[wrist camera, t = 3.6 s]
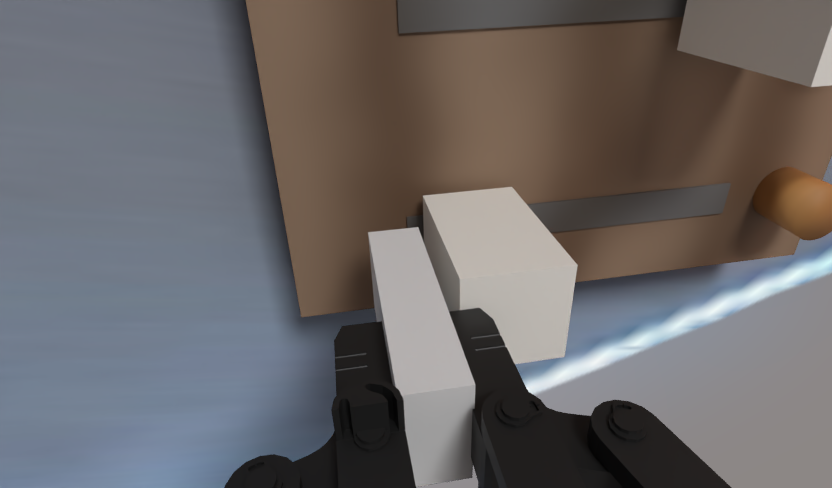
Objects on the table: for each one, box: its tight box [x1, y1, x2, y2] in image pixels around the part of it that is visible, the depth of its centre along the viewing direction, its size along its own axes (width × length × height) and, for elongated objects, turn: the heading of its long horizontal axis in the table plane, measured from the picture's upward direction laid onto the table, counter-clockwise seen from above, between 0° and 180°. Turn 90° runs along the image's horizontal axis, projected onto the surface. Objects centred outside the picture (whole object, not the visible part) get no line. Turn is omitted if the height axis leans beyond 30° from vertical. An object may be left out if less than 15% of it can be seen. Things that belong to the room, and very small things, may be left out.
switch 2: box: [677, 0, 832, 87], centre depth 13 cm, size 3×3×5 cm
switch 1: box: [423, 187, 578, 364], centre depth 16 cm, size 3×3×5 cm
